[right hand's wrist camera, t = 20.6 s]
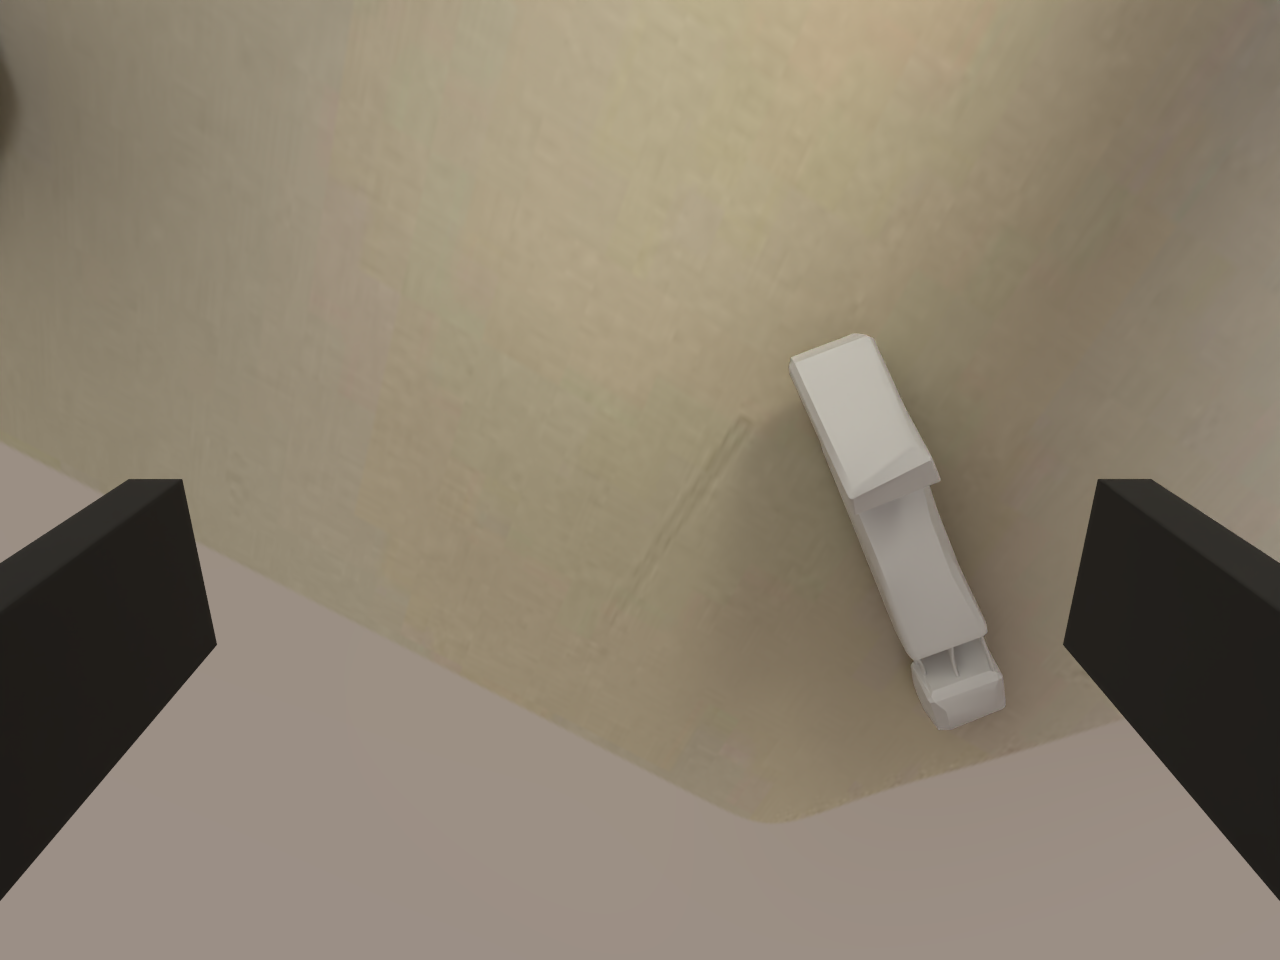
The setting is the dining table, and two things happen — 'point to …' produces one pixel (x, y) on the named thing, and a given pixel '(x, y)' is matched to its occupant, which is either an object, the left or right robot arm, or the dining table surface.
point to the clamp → (900, 526)
